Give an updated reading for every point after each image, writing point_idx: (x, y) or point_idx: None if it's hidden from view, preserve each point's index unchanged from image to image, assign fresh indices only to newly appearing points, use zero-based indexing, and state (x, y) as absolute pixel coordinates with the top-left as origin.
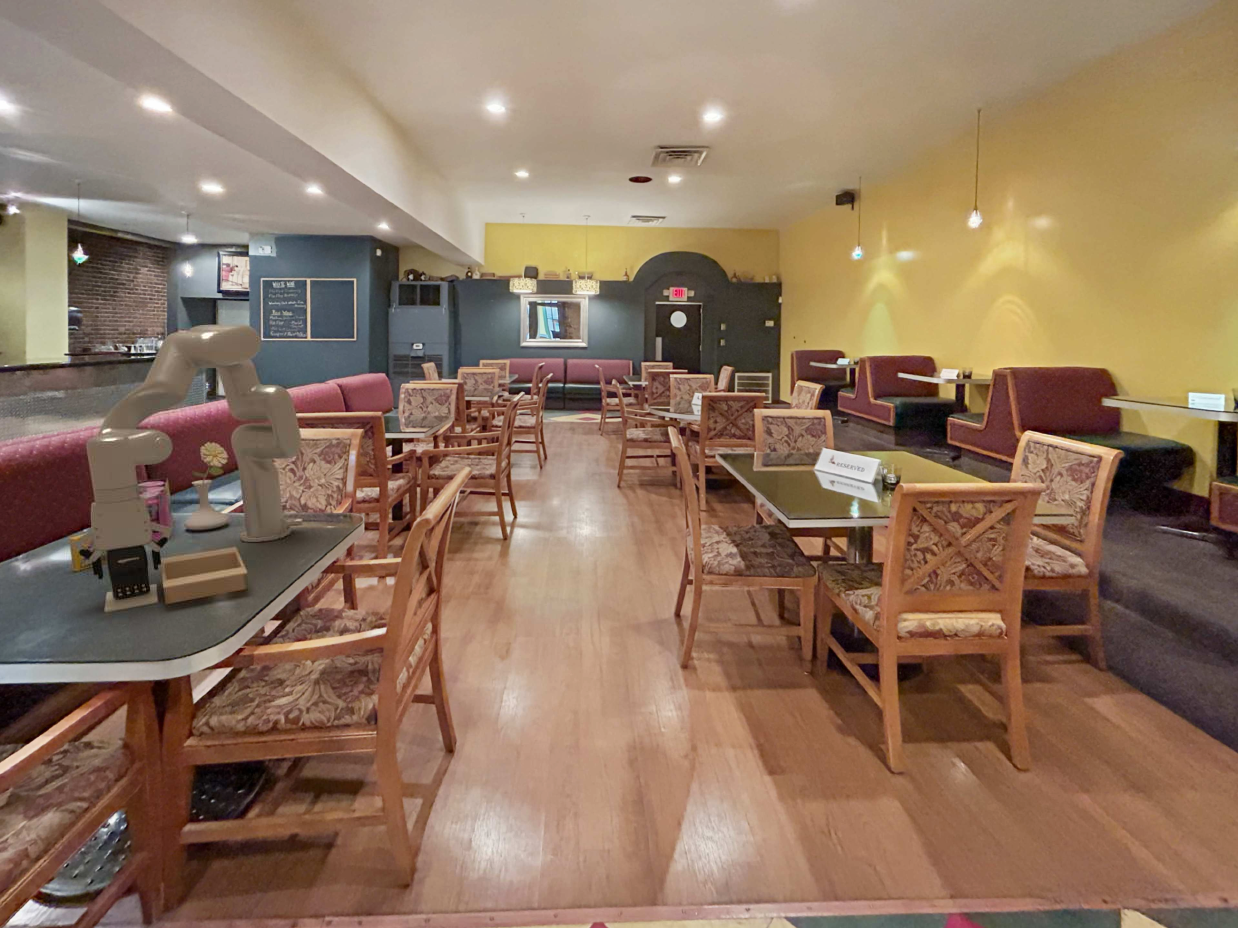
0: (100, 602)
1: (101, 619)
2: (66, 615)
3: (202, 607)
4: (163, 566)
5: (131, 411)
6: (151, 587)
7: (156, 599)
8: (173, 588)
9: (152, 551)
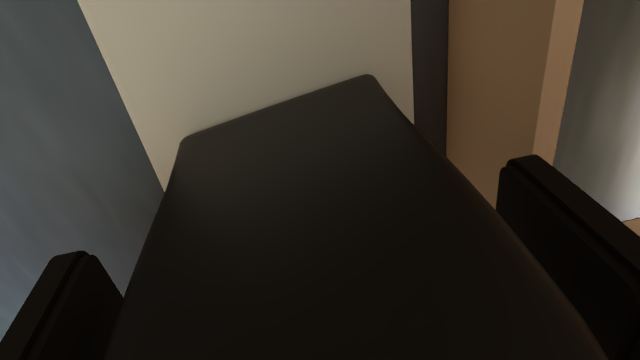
0: (119, 148)
1: None
2: (34, 277)
3: None
4: (561, 65)
5: None
6: (379, 17)
7: None
8: None
9: (622, 355)
